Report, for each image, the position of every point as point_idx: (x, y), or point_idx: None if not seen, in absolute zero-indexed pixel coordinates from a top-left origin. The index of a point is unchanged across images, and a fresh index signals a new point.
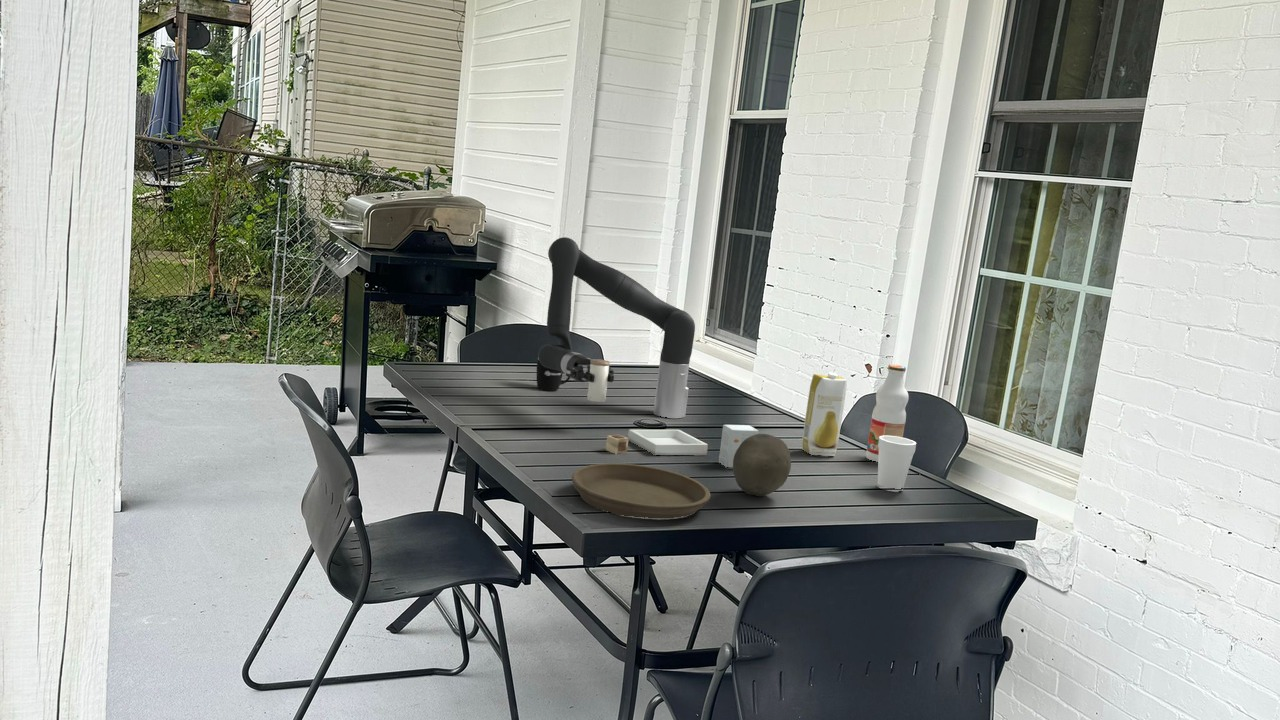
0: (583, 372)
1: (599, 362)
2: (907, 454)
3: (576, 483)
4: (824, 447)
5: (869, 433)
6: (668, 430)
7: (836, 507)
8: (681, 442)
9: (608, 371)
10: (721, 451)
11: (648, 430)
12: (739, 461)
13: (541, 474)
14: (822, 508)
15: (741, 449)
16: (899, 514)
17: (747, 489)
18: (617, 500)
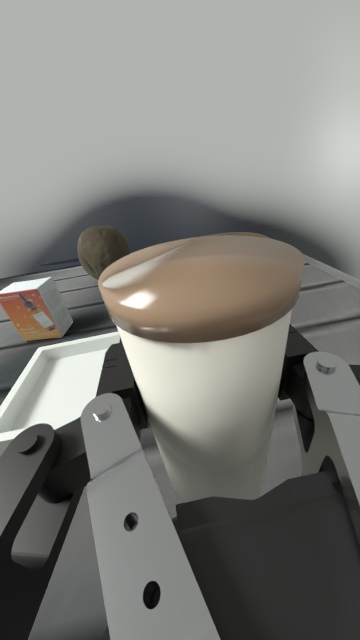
0: (342, 370)
1: (215, 238)
2: None
3: (266, 236)
4: None
5: None
6: (18, 429)
7: (70, 277)
8: (31, 407)
9: (90, 408)
10: (58, 319)
11: (79, 416)
12: (127, 244)
13: (305, 273)
14: (83, 274)
15: (121, 236)
16: (38, 277)
17: None
18: (239, 232)
